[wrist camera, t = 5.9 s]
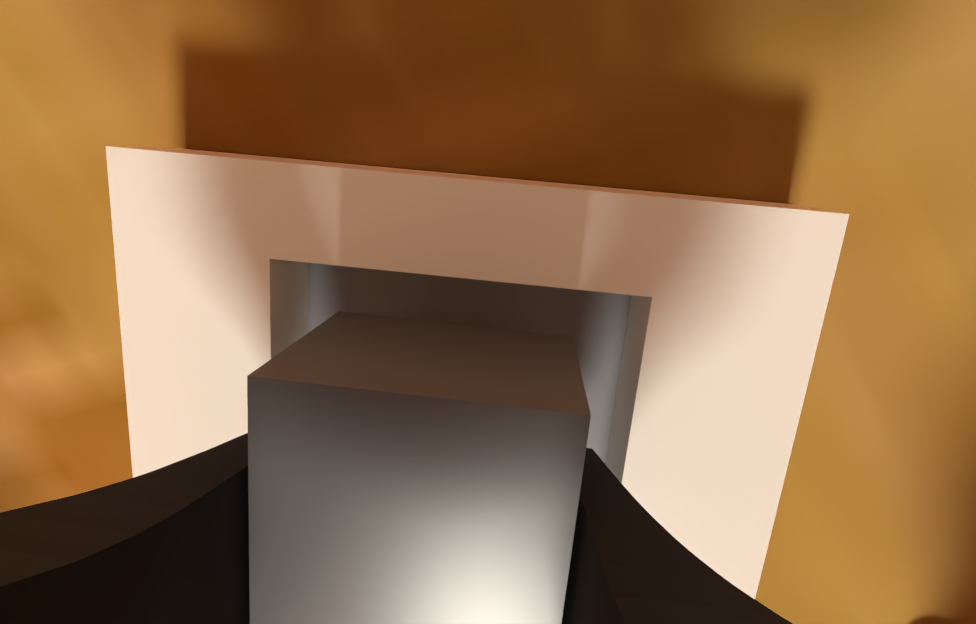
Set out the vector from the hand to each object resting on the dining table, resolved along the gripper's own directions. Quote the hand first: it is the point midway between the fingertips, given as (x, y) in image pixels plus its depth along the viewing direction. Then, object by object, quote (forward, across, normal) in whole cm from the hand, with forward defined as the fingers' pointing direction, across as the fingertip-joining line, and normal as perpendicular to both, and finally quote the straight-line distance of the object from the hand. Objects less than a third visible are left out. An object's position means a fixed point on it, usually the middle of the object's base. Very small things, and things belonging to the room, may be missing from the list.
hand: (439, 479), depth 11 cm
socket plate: (+3, 0, +2) cm, 3 cm away
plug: (+2, 0, 0) cm, 2 cm away
